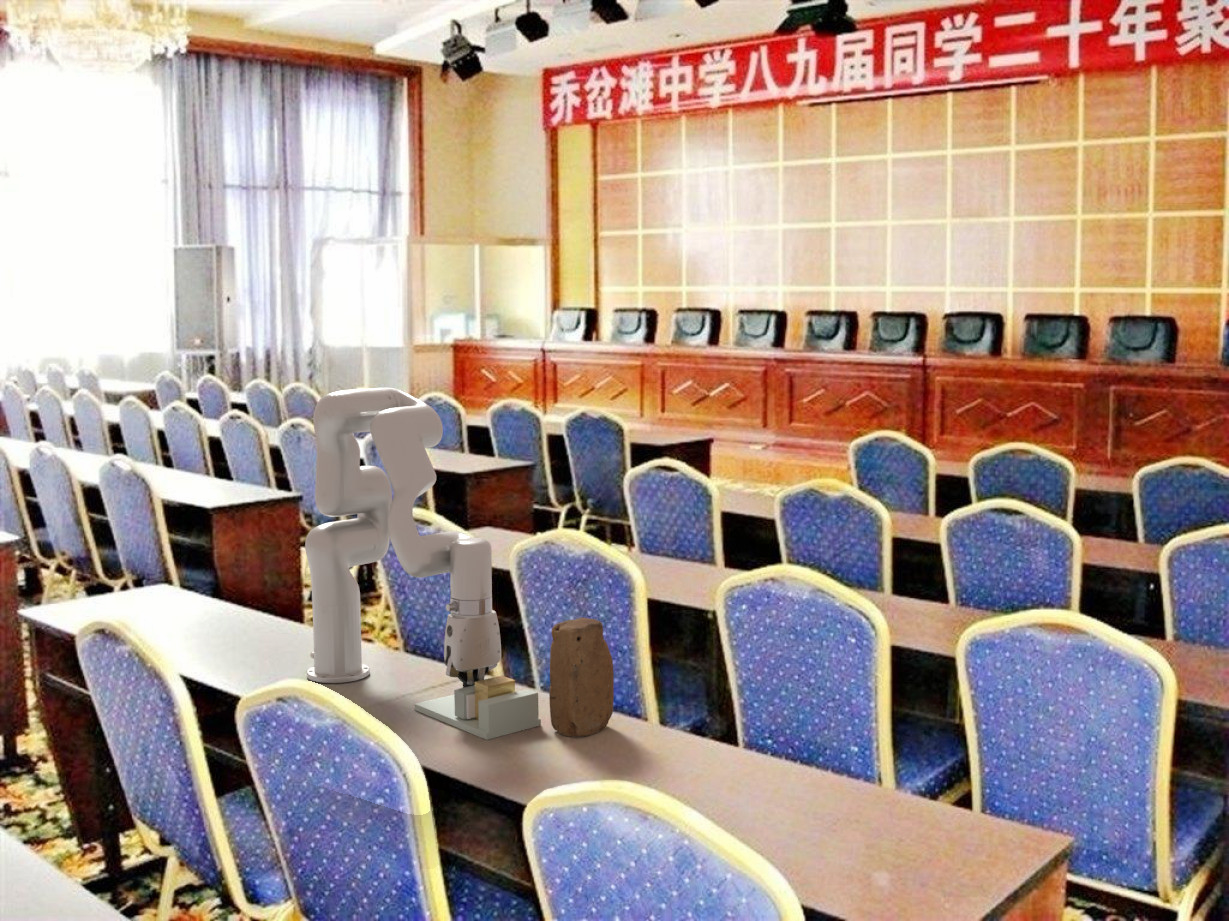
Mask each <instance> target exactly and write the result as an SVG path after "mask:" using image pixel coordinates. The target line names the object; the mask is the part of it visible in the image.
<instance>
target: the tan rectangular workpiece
mask: <svg viewBox="0 0 1229 921" xmlns="http://www.w3.org/2000/svg"><path fill="white" fill-rule="evenodd" d="M514 692H516V680H515V679H513V678H510V677H506V676H504V675H498V676H494V677H490V678H484V680H480V681H476V682H475V720H478V721H479V709H478V701H480V700H485V699H489V698H493V697H497V696H501V695H505V694H510V693H514Z"/></svg>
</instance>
